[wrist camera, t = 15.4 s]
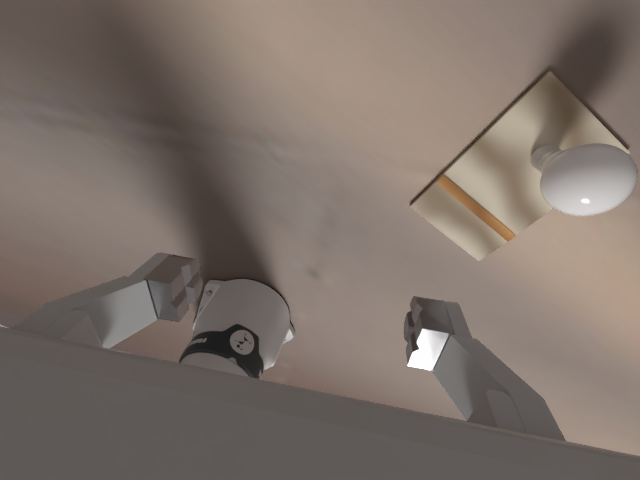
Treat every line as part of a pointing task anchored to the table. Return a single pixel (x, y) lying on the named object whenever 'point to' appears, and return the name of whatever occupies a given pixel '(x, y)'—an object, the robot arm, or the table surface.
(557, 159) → the lightbulb
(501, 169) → the board
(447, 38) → the table surface
